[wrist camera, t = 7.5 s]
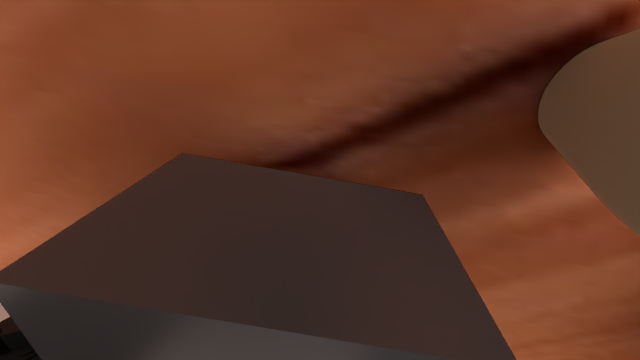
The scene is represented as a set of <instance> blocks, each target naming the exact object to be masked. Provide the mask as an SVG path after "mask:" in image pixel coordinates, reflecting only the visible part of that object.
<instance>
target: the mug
mask: <svg viewBox="0 0 640 360" xmlns="http://www.w3.org/2000/svg"><path fill="white" fill-rule="evenodd" d="M538 123H539V126H540V129H541V131H542V133H543V134H544V136H545V137H546V138H547V139H548V140H549V141H550V143H551V144H552V145H553V146H554V147H555V148H556V150H557V151H558V152H559V153H560V154H561V155H562V157H563V158H564V159H565V160H566V161H567V162H568V164H569V165H570V166H571V167H572V168H573V169H574V171H575V172H576V173H577V174H578V175H579V176H580V178H581V179H582V180H583V181H584V182H585V183H586V184H587V186H588V187H589V188H590V189H591V190H592V191H593V193H594V194H595V195H596V196H597V197H598V198H599V199H600V200H601V201H602V202H603V203H604V204H605V205H606V206H607V207H608V208H609V209H610V210H611V211H612V212H613V213H614V214H615V215H616V216H617V217H618V218H619V219H620V220H621V221H622V222H623V223H625V224H626V225H627V226H628V227H629V228H630V229H631V230H633V231H634V232H635V233H636V234H637V235H639V236H640V29H637V30H634V31H631V32H629V33H626V34H623V35H620V36H617V37H614V38H611V39H608V40H606V41H603V42H600V43H598V44H595V45H593V46H591V47H589V48H588V49H586V50H584V51H582V52H581V53H579V54H578V55H576V56H575V57H574V58H572V59H571V60H570V61H569V62H568V63H566V64H565V65H564V66H563V67H562V68H561V69H560V70H559V71H558V72H557V73H556V75H555V76H554V77H553V79H552V80H551V81H550V83H549V84H548V86H547V87H546V89H545V91H544V93H543V95H542V98H541V101H540V104H539V109H538Z"/></svg>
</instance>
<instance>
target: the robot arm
mask: <svg viewBox="0 0 640 360" xmlns="http://www.w3.org/2000/svg"><path fill="white" fill-rule="evenodd" d="M0 360H42V359H41V358H40V357H39V355H38V354H37V353H36V351H35V350H34V348H33V347H32V346H31V344H30V343H29V342H28V340H27V339H26V337H25V336H24V335H23V333H22V332H21V330H20V329H19V328H18V326H17V325H16V324H15V322H14V321H13V319H12V318H11V317H9V318H7V319H5V320H3V321H1V322H0Z"/></svg>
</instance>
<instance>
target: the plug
mask: <svg viewBox="0 0 640 360" xmlns="http://www.w3.org/2000/svg"><path fill="white" fill-rule="evenodd" d="M0 303H1V304H2V306H3V307H4V308H5V310H6V311H7V312H8V313H9V315H10V317H11V318H12V319H13V321H14V322H15V324H16V325H17V326H18V328H19V329H20V330H21V332H22V333H23V335H24V336H25V337H26V339H27V340H28V342H29V343H30V344H31V346H32V347H33V348H34V350H35V351H36V353H37V354H38V355H39V357H40V358H41V359H42V360H516V358H515V357H514V355H513V353H512V351H511V350H510V348H509V346H508V344H507V343H506V341H505V339H504V337H503V336H502V334H501V332H500V330H499V329H498V327H497V325H496V323H495V322H494V320H493V318H492V316H491V314H490V313H489V311H488V309H487V307H486V306H485V304H484V302H483V300H482V299H481V297H480V295H479V293H478V292H477V290H476V288H475V286H474V285H473V283H472V281H471V279H470V278H469V276H468V274H467V272H466V271H465V269H464V267H463V265H462V264H461V262H460V260H459V258H458V256H457V255H456V253H455V251H454V249H453V248H452V246H451V244H450V242H449V241H448V239H447V237H446V235H445V234H444V232H443V230H442V228H441V227H440V225H439V223H438V221H437V220H436V218H435V216H434V214H433V213H432V211H431V209H430V207H429V206H428V204H427V202H426V200H425V198H424V197H423V195H422V194H416V193H410V192H404V191H399V190H393V189H387V188H381V187H375V186H370V185H364V184H358V183H352V182H346V181H341V180H335V179H329V178H323V177H317V176H312V175H306V174H300V173H294V172H289V171H283V170H277V169H271V168H265V167H260V166H254V165H248V164H242V163H236V162H231V161H225V160H219V159H213V158H207V157H202V156H196V155H190V154H184V153H181V154H180V155H178V156H177V157H175V158H174V159H172V160H171V161H169V162H168V163H166V164H164V165H163V166H161V167H160V168H158V169H157V170H155V171H154V172H152V173H151V174H149V175H147V176H146V177H144V178H143V179H141V180H140V181H138V182H137V183H135V184H134V185H132V186H131V187H129V188H127V189H126V190H124V191H123V192H121V193H120V194H118V195H117V196H115V197H114V198H112V199H111V200H109V201H107V202H106V203H104V204H103V205H101V206H100V207H98V208H97V209H95V210H94V211H92V212H91V213H89V214H87V215H86V216H84V217H83V218H81V219H80V220H78V221H77V222H75V223H74V224H72V225H71V226H69V227H67V228H66V229H64V230H63V231H61V232H60V233H58V234H57V235H55V236H54V237H52V238H51V239H49V240H47V241H46V242H44V243H43V244H41V245H40V246H38V247H37V248H35V249H34V250H32V251H31V252H29V253H27V254H26V255H24V256H23V257H21V258H20V259H18V260H17V261H15V262H14V263H12V264H10V265H9V266H7V267H6V268H4V269H3V270H1V271H0Z"/></svg>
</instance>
